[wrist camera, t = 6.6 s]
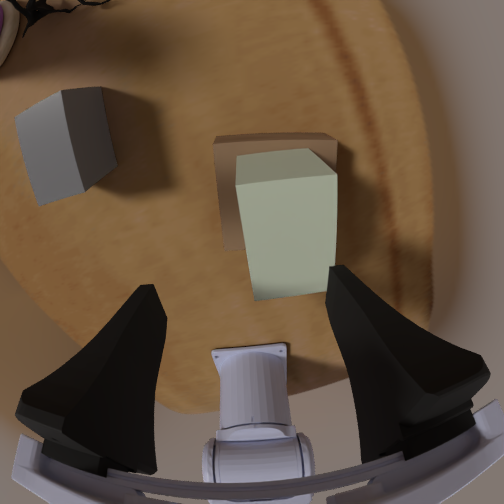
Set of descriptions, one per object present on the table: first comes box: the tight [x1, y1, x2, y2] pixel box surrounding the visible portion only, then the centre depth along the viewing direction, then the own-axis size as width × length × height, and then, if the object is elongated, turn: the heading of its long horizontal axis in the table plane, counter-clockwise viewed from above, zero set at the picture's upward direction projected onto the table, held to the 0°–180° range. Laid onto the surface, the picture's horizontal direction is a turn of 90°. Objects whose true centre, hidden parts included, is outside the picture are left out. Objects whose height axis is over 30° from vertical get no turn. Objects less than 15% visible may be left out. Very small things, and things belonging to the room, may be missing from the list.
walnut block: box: [213, 133, 338, 251], centre depth 17 cm, size 7×7×3 cm
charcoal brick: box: [15, 87, 118, 206], centre depth 13 cm, size 6×4×5 cm, turn 6°
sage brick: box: [235, 148, 337, 301], centre depth 14 cm, size 6×4×5 cm, turn 7°
